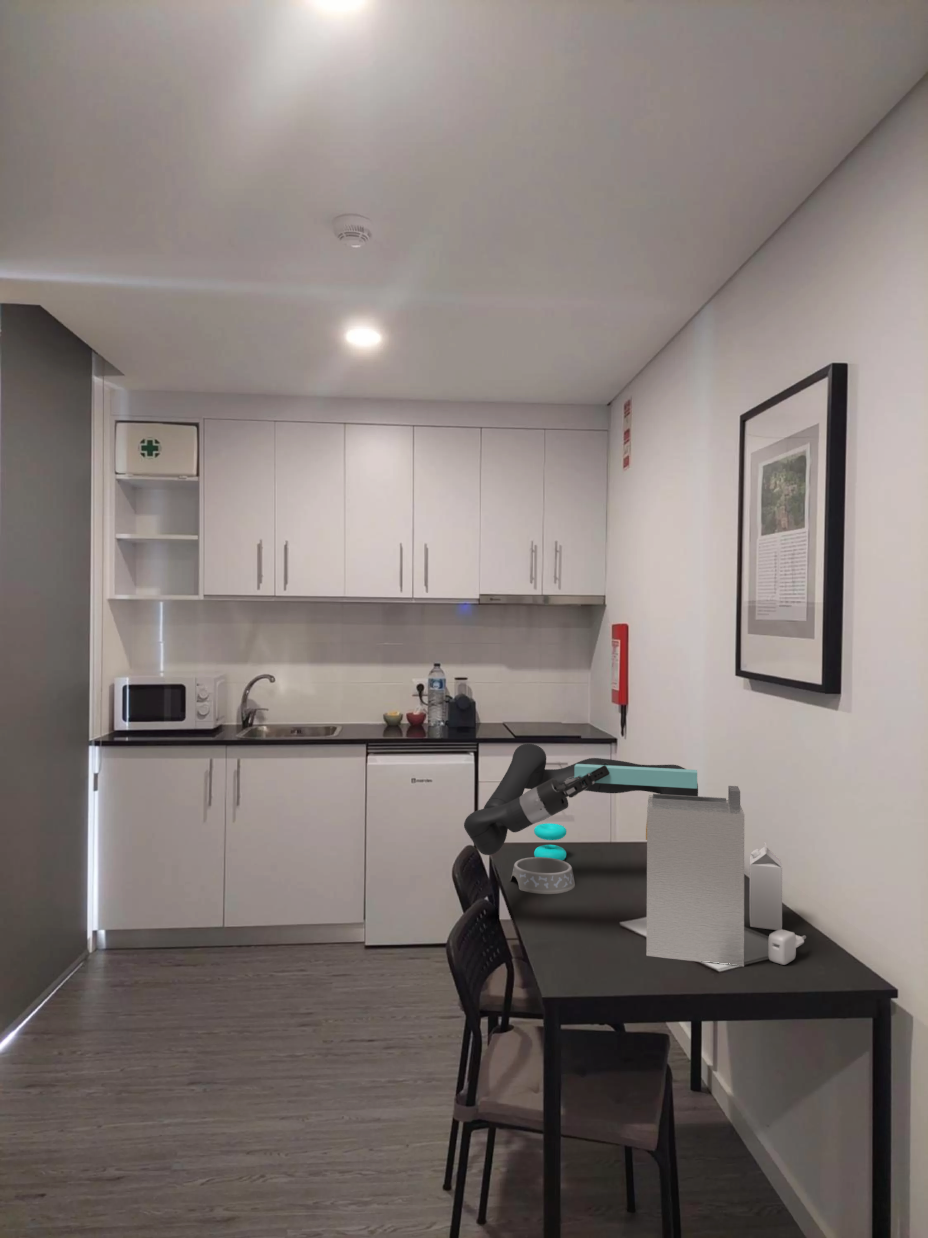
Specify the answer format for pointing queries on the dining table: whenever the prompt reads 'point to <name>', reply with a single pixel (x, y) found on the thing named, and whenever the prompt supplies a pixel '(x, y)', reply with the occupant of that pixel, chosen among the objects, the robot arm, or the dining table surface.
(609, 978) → the dining table surface
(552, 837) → the donuts
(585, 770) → the teal tapered block
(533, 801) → the robot arm
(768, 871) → the milk carton
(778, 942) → the power adapter
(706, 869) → the tall grey box
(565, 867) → the dog bowl
